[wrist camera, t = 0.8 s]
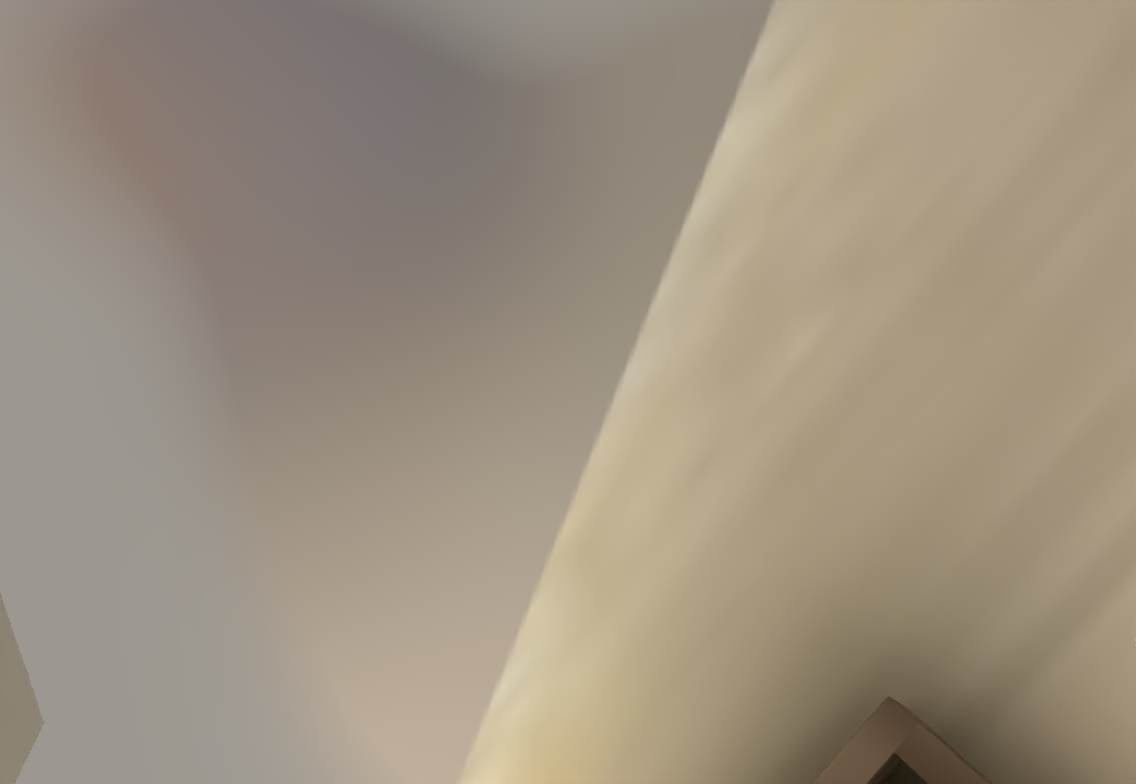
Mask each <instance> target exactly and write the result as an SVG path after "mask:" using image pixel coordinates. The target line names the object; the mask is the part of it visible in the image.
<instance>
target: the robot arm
mask: <svg viewBox="0 0 1136 784" xmlns="http://www.w3.org/2000/svg"><path fill="white" fill-rule="evenodd" d="M1134 646H1135V648H1136V640H1135V643H1134ZM43 724H44V721H43V718H42V715H41V712H40V709H39V706H38V703H37V700H36V697H35V694H34V691H33V688H32V685H31V682H30V679H29V676H28V673H27V670H26V668H25V664H24V662H23V659H22V656H21V653H20V650H19V647H18V644H17V641H16V638H15V635H14V632H13V629H12V626H11V623H10V621H9V618H8V614H7V612H6V609H5V606H4V603H3V600H2V597H1V594H0V784H15V782H16V780H17V778H18V776H19V774H20V771H21V769H22V767H23V765H24V763H25V761H26V759H27V757H28V755H29V753H30V751H31V749H32V747H33V744H34V742H35V741H36V739H37V736H38V734H39V732H40V730H41V728H42V726H43Z"/></svg>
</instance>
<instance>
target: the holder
mask: <svg viewBox="0 0 1136 784" xmlns="http://www.w3.org/2000/svg"><path fill="white" fill-rule="evenodd" d="M902 761H904V762H905V763H906V764H907V765H908V766H910V767H911V768H912V769H913V770H914V771H915V772H916V773H917V774H918V775H919V776H920V777H922V778H923V779H924V780H925V781H926V782H927V783H928V784H991V783H990V782H989V781H988V780H987V779H986V778H984V777H983V776H982V775H981V774H980V773H979V772H978V771H976V770H975V769H974V768H973V767H972V766H971V765H970V764H969V763H967V762H966V761H965V760H964V759H963V758H962V757H961V756H960V755H958V754H957V753H956V752H955V751H954V750H953V749H952V748H950V747H949V746H948V745H947V744H946V743H945V742H944V741H943V740H941V739H940V738H939V737H938V736H937V735H936V734H935V733H934V732H932V731H931V730H930V729H929V728H928V727H927V726H926V725H924V724H923V723H922V722H921V721H920V720H919V719H918V718H917V717H915V716H914V715H913V714H912V713H911V712H910V711H909V710H907V709H906V708H905V707H904V706H903V705H902V704H900V703H898V702H897V701H895V700H894V699H892V698H890V697H889V696H888V697H887V698H886V699H885V701H884V702H883V703H882V704H881V705H880V706H879V707H878V709H877V710H876V711H875V712H874V713H873V714H872V715H871V717H870V718H869V719H868V720H867V721H866V722H865V723H864V725H863V726H862V727H861V728H860V729H859V730H858V731H857V733H856V734H855V735H854V736H853V737H852V738H851V740H850V741H849V742H848V743H847V744H846V745H845V746H844V748H843V749H842V750H841V751H840V752H839V753H838V754H837V756H836V757H835V758H834V759H833V760H832V761H831V762H830V764H829V765H828V766H827V767H826V768H825V769H824V771H823V772H822V773H821V774H820V775H819V776H818V777H817V779H816V780H815V781H814V782H813V783H812V784H883V783H884V781H885V780H886V779H887V778H888V777H889V776H890V774H891V773H892V772H893V771H894V770H895V769H896V768H897V766H898V765H899V764H900V763H901V762H902Z"/></svg>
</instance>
